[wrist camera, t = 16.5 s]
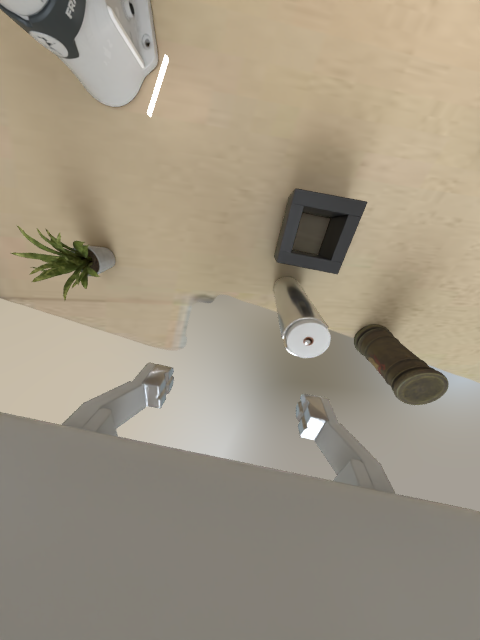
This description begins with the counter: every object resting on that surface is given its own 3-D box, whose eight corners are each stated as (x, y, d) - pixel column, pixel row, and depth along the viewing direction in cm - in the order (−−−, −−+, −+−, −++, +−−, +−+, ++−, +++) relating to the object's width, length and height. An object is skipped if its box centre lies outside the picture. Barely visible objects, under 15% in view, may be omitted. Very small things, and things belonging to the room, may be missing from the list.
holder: (288, 197, 38) (295, 188, 30) (345, 207, 38) (367, 201, 30) (274, 256, 44) (276, 262, 36) (323, 266, 43) (337, 274, 35)
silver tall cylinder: (277, 273, 45) (290, 315, 23) (302, 279, 45) (342, 326, 23) (270, 298, 48) (277, 356, 26) (294, 303, 48) (322, 366, 26)
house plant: (87, 208, 44) (-2, 197, 29) (139, 246, 46) (81, 252, 32) (74, 258, 50) (-5, 269, 35) (120, 289, 52) (65, 311, 37)
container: (368, 319, 48) (422, 363, 32) (397, 332, 48) (464, 383, 32) (345, 344, 52) (383, 396, 36) (373, 357, 52) (422, 412, 36)
